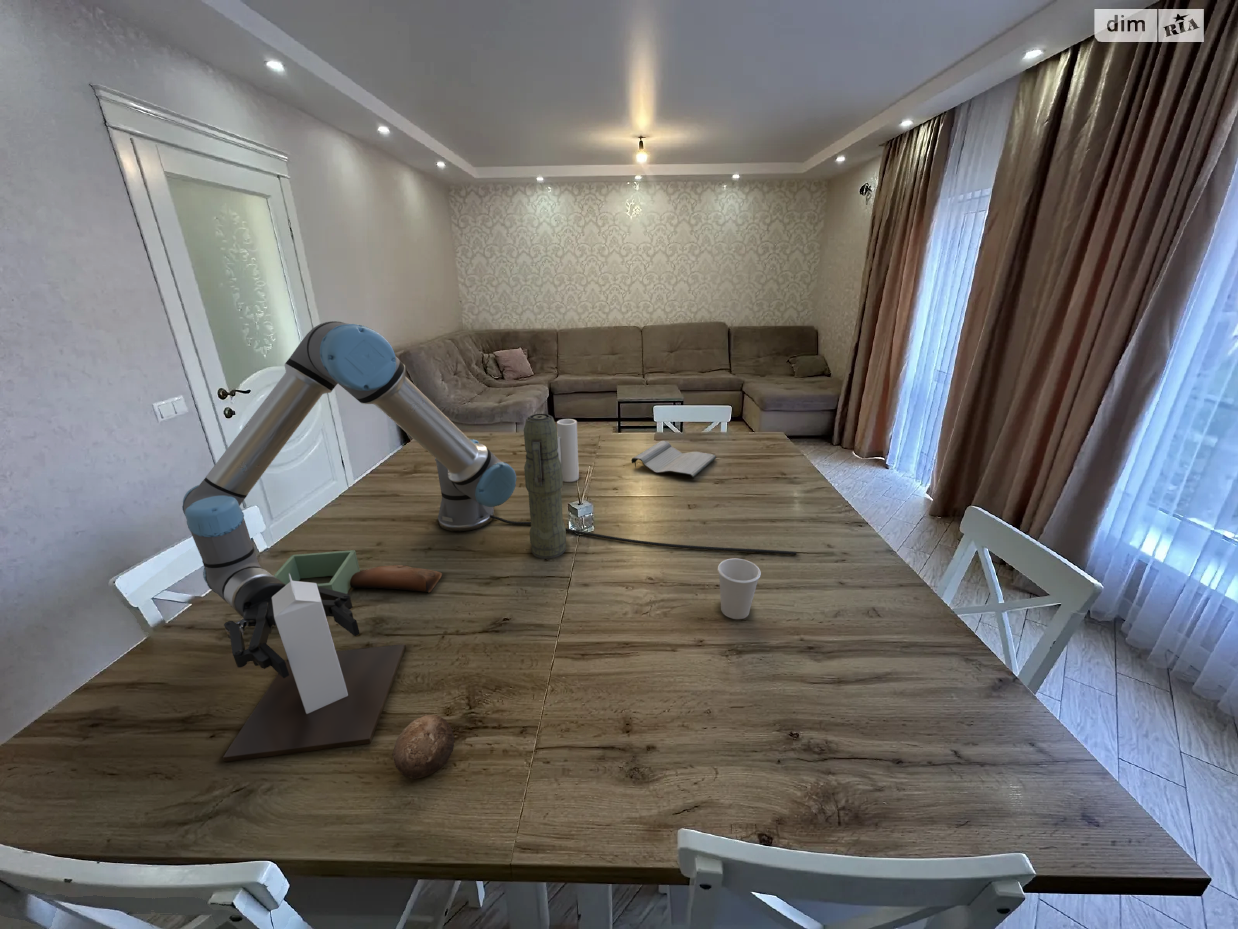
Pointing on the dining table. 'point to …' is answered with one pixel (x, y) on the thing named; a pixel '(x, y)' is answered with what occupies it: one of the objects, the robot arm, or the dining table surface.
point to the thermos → (544, 486)
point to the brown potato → (423, 746)
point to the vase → (568, 449)
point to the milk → (308, 644)
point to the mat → (673, 459)
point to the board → (321, 709)
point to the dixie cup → (737, 586)
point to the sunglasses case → (396, 578)
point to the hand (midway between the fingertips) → (321, 647)
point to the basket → (322, 568)
